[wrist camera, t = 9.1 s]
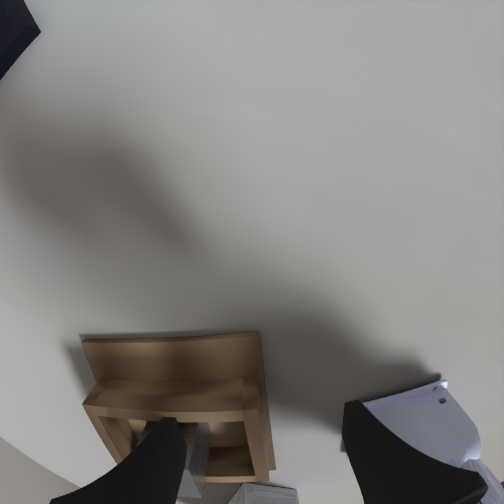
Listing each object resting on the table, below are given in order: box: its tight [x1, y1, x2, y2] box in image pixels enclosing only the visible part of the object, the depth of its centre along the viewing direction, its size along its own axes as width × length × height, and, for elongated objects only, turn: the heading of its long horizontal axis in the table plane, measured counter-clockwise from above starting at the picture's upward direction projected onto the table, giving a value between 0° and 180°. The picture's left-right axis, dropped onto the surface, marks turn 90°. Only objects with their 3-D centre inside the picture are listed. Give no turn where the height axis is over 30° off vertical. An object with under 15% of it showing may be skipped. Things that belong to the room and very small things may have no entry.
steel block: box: [137, 421, 212, 498], centre depth 18 cm, size 4×4×7 cm
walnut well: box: [81, 331, 276, 483], centre depth 20 cm, size 14×16×4 cm
